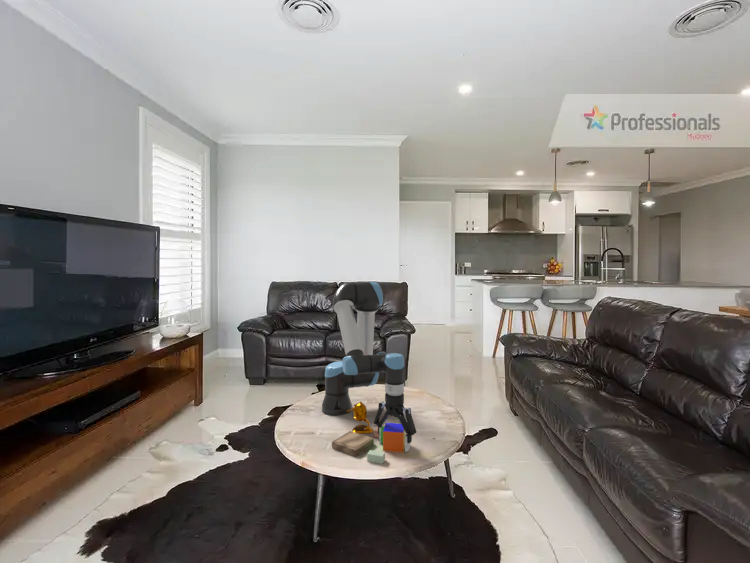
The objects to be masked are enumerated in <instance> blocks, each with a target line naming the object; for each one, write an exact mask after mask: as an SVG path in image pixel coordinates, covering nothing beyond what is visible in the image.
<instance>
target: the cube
mask: <svg viewBox="0 0 750 563" xmlns="http://www.w3.org/2000/svg"><path fill="white" fill-rule="evenodd" d="M384 426H385V427H384V430H383V442H382V452H391V453H392V452H395V453H404V452H405V435H406V432H405V430H404V428H403V426H402V424H401V423H397V422H396V423H395V422H394V423H393V422H385V425H384Z"/></svg>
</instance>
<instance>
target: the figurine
mask: <svg viewBox="0 0 750 563" xmlns="http://www.w3.org/2000/svg"><path fill="white" fill-rule="evenodd" d="M353 406H354V407H353ZM353 406H352V409H350V410H351V411H352V413H353V416H352V418H353V419H354V420H355V421H357V422H364V423H366V424H364V423H363V424H362V423H358V424H357V425H355V426H354V427H353V428H352V430H351V431H352V432H355V433H358V434H362V435H367V434H373V433H374V430H375V429H374V428H372V427H371V426H370V424H371V423H370V421H369V419H367V418H368V411H367V410H368V409H367V406H366V405H365V404H364V403H363V402H362V401H359V402H358V403H357V402H356V403H354V405H353ZM350 410H347V412H348V411H350ZM351 411H350V412H351Z"/></svg>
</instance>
